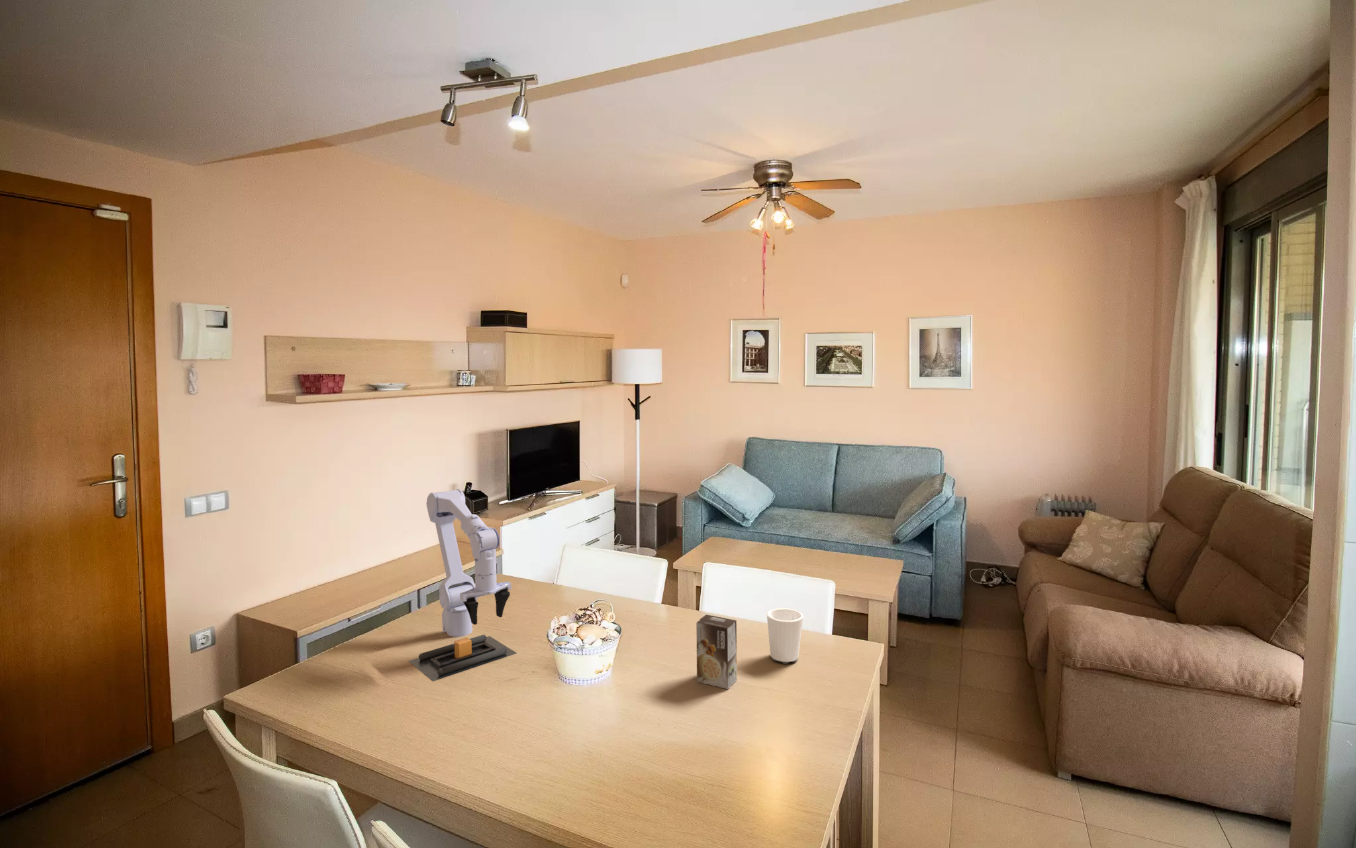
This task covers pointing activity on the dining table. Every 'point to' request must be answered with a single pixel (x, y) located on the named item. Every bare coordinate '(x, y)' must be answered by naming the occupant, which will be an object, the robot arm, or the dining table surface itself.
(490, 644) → the plate
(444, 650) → the grey rails and frame
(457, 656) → the orange rectangular box
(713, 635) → the coffee box
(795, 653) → the cup
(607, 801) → the dining table surface
